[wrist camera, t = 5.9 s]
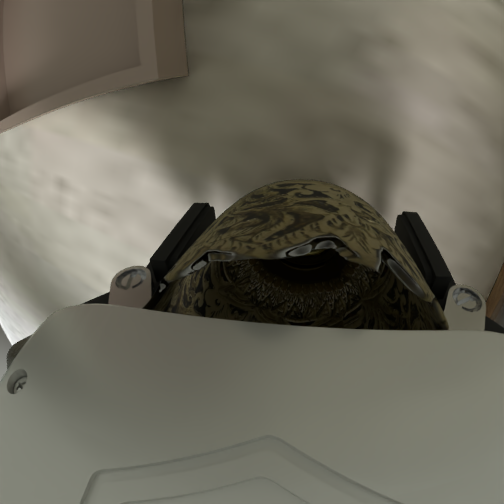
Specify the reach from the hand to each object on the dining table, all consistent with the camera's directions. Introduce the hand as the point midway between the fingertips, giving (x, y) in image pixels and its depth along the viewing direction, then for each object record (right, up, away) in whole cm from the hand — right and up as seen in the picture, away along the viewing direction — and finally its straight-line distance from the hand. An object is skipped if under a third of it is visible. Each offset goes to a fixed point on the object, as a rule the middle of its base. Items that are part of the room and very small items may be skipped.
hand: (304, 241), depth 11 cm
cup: (0, +1, +1) cm, 2 cm away
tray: (-10, +11, -3) cm, 16 cm away
